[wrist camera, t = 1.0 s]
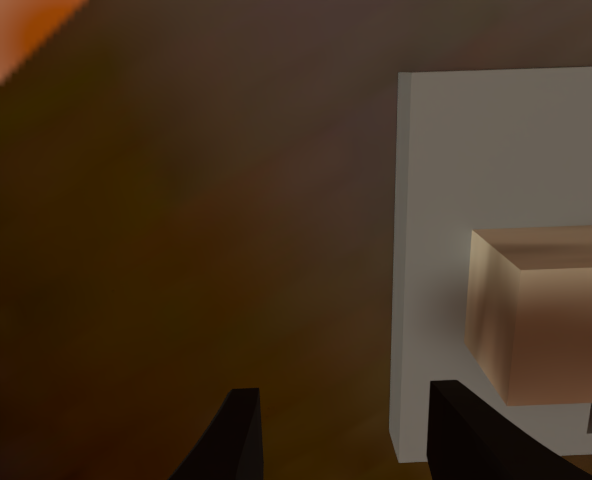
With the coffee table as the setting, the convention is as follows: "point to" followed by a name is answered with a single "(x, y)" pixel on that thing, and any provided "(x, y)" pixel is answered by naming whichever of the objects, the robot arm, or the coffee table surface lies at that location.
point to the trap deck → (478, 224)
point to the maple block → (532, 312)
